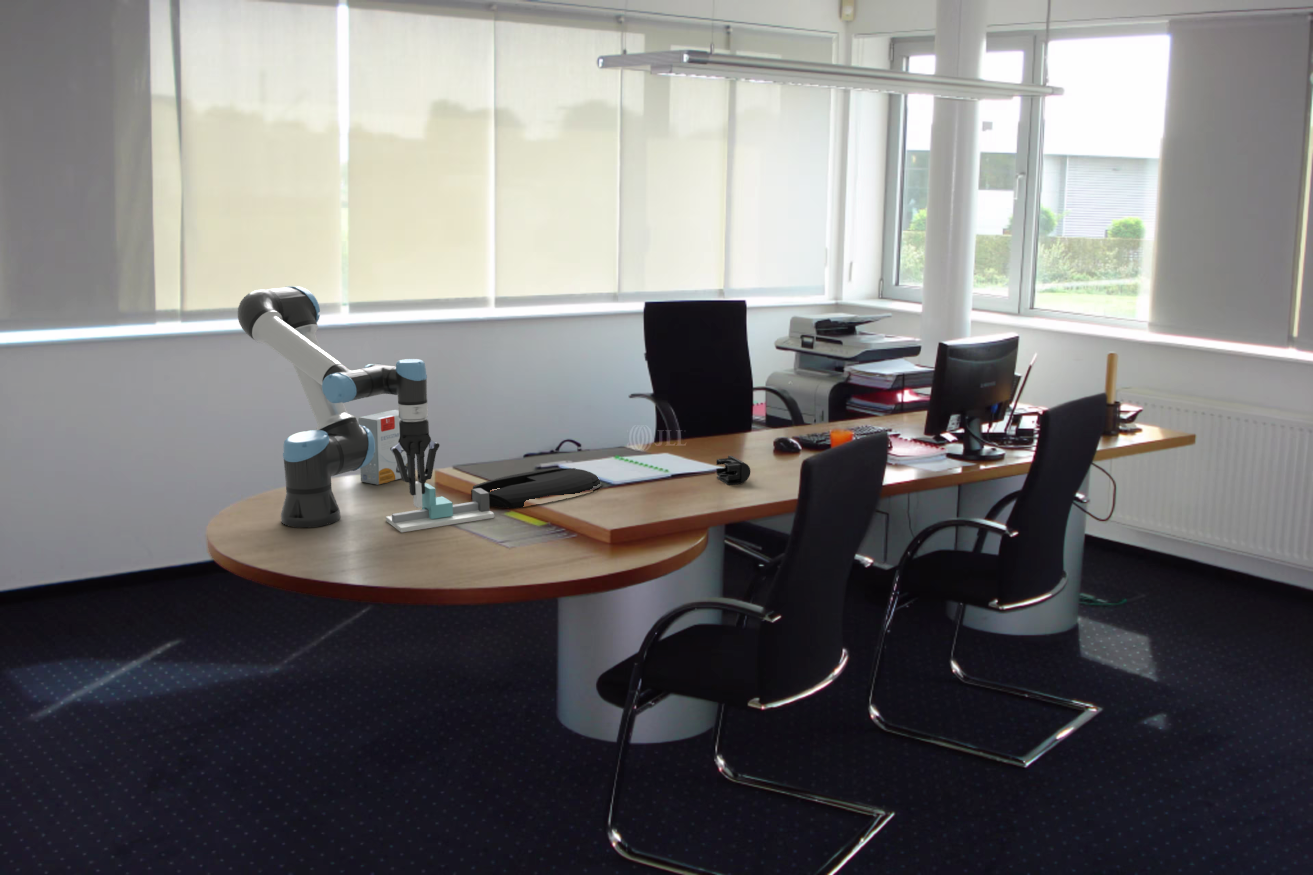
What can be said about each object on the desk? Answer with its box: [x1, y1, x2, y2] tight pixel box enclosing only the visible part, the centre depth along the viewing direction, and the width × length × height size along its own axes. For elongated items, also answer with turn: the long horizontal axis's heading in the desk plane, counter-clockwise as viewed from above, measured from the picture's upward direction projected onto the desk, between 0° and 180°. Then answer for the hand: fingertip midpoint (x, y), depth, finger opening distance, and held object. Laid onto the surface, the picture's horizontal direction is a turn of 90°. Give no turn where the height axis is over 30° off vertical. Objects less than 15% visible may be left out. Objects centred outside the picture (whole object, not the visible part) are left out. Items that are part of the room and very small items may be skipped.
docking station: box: [470, 467, 601, 510], centre depth 346 cm, size 25×40×5 cm, turn 129°
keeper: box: [421, 482, 454, 519], centre depth 317 cm, size 6×7×8 cm
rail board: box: [385, 488, 495, 533], centre depth 318 cm, size 26×12×6 cm, turn 121°
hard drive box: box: [357, 409, 408, 486], centre depth 358 cm, size 16×8×20 cm, turn 148°
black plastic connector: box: [715, 455, 751, 486], centre depth 358 cm, size 10×7×7 cm
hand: (418, 506), depth 314 cm, fingers closed
